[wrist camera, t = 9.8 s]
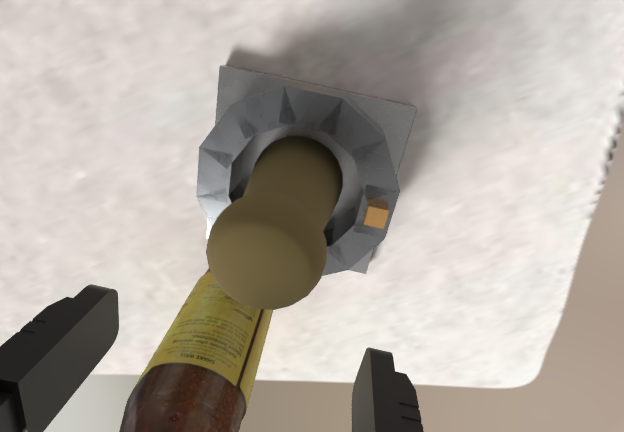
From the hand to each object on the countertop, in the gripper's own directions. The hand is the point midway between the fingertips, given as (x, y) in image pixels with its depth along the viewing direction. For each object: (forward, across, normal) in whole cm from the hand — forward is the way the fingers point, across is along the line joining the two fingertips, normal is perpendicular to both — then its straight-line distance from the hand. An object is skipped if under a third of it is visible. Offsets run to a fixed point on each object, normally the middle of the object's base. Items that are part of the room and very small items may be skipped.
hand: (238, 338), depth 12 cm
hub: (+15, 0, 0) cm, 15 cm away
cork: (+14, 0, 0) cm, 15 cm away
